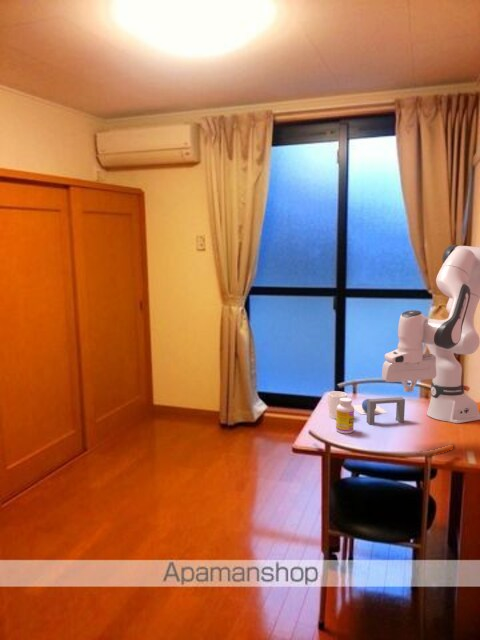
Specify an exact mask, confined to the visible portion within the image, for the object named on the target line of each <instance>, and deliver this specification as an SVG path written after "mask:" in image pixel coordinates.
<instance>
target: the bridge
mask: <svg viewBox="0 0 480 640" xmlns="http://www.w3.org/2000/svg"><path fill="white" fill-rule="evenodd" d="M366 399H367V414H366V423H367V424H368V425H375V415H376V414H375V404H376V405H382V404H395V403H396V406H395V407H396V409H395V411H396V412H395V421H396V422H398V423H404V422H405V408H406V399H405V398H404V397H403V396H398V397H397V396H395V397H382V398H379V397H378V398H366Z"/></svg>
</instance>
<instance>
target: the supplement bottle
mask: <svg viewBox="0 0 480 640" xmlns="http://www.w3.org/2000/svg"><path fill="white" fill-rule="evenodd" d="M339 402H340V404H339V405H338V406H337V415H336V419H335V423H336V424H335V430H336V431H337V433H339V434H347V435H348V434H351V433H353V432H354V423H355V422H354V420H355V418H354V417H355V409H354V407H353V406H352V402H353V399H351V398H350V397H347V398H340V400H339Z"/></svg>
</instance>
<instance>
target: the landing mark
mask: <svg viewBox="0 0 480 640" xmlns="http://www.w3.org/2000/svg"><path fill="white" fill-rule="evenodd" d="M351 405H352V404H351ZM352 406H353V407H354V411H356V412H357V413H358V414H360V416H361V415H364V416H365V415H367V412H365V411H364V410H363V408H362V404H353V405H352ZM378 414H388V412H387V411H386V410H385V409H383V408H382V407H380V406H379V404H376V409H375V415H378Z"/></svg>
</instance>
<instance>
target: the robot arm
mask: <svg viewBox="0 0 480 640" xmlns="http://www.w3.org/2000/svg"><path fill="white" fill-rule="evenodd" d="M441 261H442V266H441V267H440V269H439V271H438V273H437V275H436V279H435V283H436V286H437V288H438V290H439V292H441V293H442V294H443V295H444V296H446V297H448V301H447V304H446V305H445V308H446V311H447V313H448V314H449V315H448V317H447V318H445V319H437V318H431V317H427V316H425V315H424V314H423V312H422V311H420V310H417V309H416V310H414V309H411V310H407V311H404V312H402V313H401V314H400V316H399V321H398V328H397V329H398V330H397V336H398V343H397V348H396V349H395V350H392V351H390V352H387V353H385V354H384V360H385V361H384V362H383V364H382V369H381V378H382V380H383V381H385V382H386V383H396V382H400V383H401V384H402V386H403V391H404V392H405V393H412V392H414V391H415V390H414V389H415V387H416V385H417V382H418V381H419V380H421V381H422V380H432V381H431V384H430V400H429V405H428V408H427V411H426V415H427V417H430V418H432V419H435V420H437V421H444V422H449V423H454V424H461V423H462V424H463V423H466V422H472V421H478V420H480V412H479V409H478V408H479V407H478V404H477V402H476V401H475V400H474V399H473V398H472V397H470V396H469V395H468V394H467V393H465V391H466V392H469V390H470V389H471V388H470V386H468V385H464V384H462V372H463V368H462V364H461V363H460V362H459V360H457V359H456V356H455V354H457V355H472V354H474V353H475V352H476V351H477V350H478V348H479V347H480V336H479V334H478V333H477V331H476V329H475V325H474V319H475V313H476V311H477V307H478V305H479V302H480V246H469V245H460V244H451V245H449V246H448V247H446V249H444V252H443V255H442V260H441ZM424 345H425V346H426V348H427V350H428V351H429V353H424ZM409 381H410V385H407V384H408V383H409Z"/></svg>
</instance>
